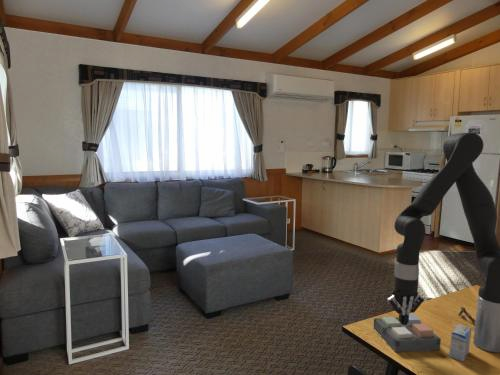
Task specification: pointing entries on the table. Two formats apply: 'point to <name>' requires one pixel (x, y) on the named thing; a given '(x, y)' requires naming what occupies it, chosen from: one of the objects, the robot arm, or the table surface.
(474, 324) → the wooden post with brackets
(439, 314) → the table surface
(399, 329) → the cream key
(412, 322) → the blue key
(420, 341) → the keypad
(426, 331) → the terracotta key
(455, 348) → the medicine box
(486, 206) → the robot arm
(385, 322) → the sage key
